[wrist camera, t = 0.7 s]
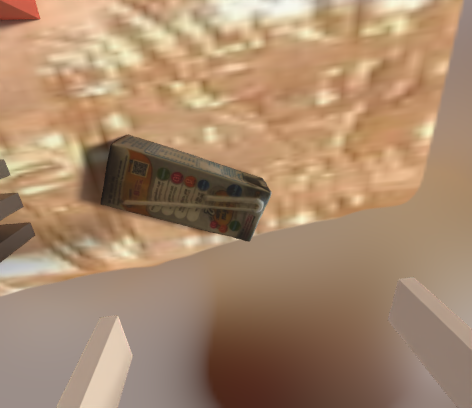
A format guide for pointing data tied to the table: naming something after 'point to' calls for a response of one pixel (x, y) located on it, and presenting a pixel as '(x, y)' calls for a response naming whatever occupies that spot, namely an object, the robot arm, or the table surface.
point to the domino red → (18, 9)
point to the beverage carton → (183, 188)
